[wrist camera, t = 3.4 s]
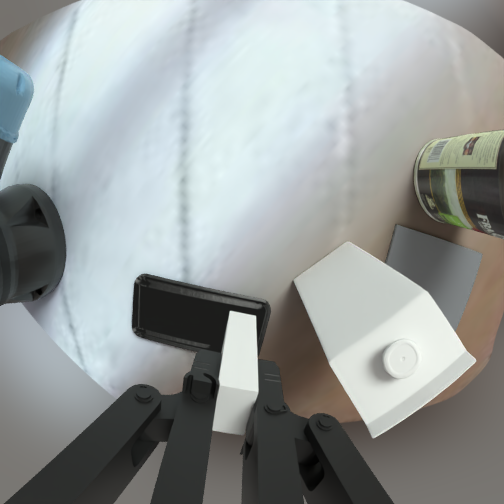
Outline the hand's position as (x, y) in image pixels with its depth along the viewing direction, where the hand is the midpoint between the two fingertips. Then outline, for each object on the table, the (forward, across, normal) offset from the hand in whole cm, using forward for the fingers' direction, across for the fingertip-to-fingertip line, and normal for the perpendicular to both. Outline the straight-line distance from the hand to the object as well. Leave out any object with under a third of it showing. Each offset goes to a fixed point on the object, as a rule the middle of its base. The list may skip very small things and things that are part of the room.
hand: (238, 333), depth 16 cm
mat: (+14, +23, 0) cm, 27 cm away
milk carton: (+14, +10, 0) cm, 17 cm away
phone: (+14, -4, -7) cm, 16 cm away
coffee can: (+14, +21, +15) cm, 29 cm away
